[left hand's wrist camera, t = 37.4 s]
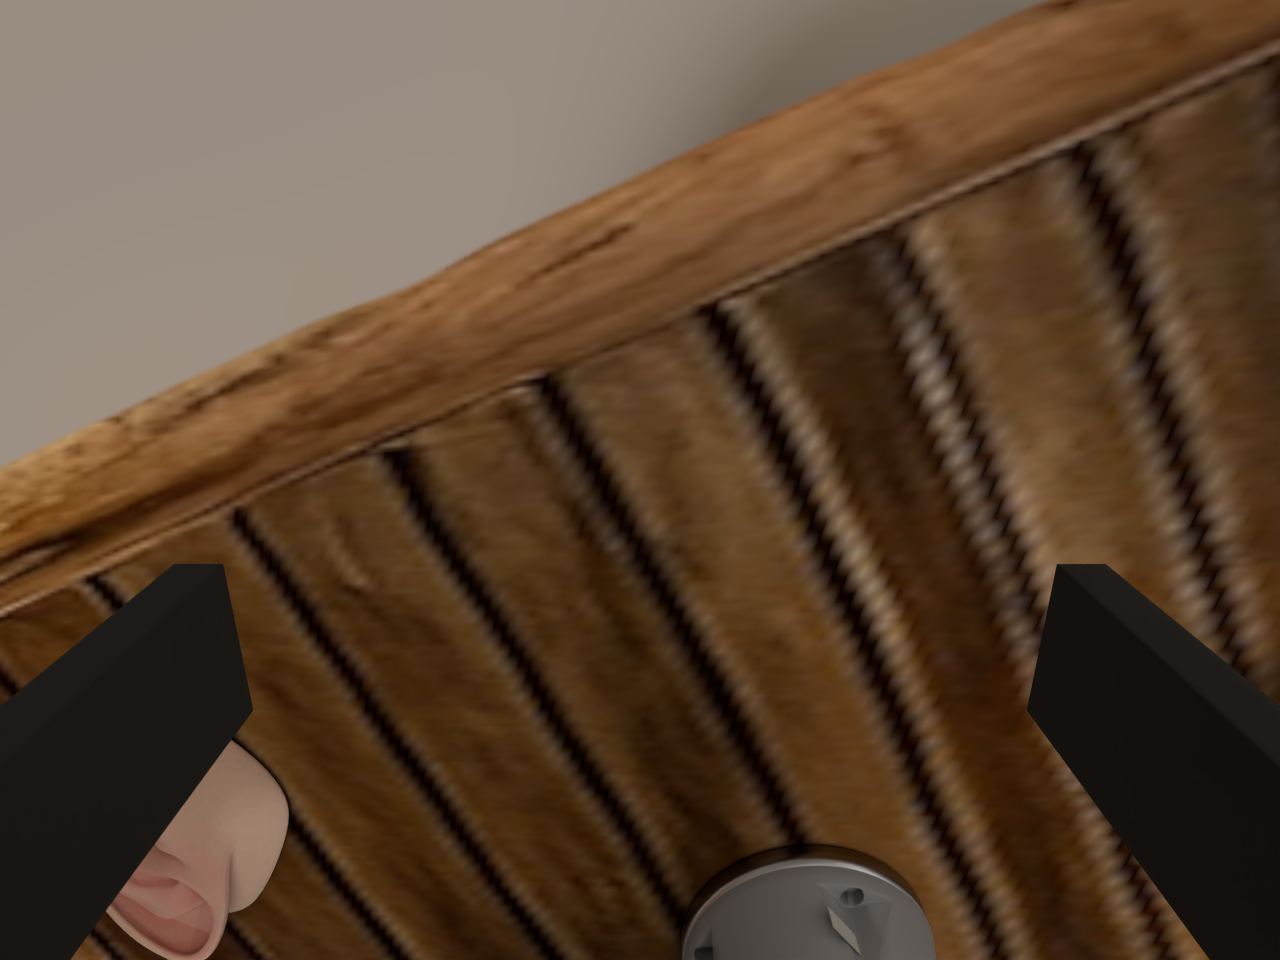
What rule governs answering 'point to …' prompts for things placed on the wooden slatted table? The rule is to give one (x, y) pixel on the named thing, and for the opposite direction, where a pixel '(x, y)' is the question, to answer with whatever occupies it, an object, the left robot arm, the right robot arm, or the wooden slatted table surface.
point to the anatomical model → (206, 860)
